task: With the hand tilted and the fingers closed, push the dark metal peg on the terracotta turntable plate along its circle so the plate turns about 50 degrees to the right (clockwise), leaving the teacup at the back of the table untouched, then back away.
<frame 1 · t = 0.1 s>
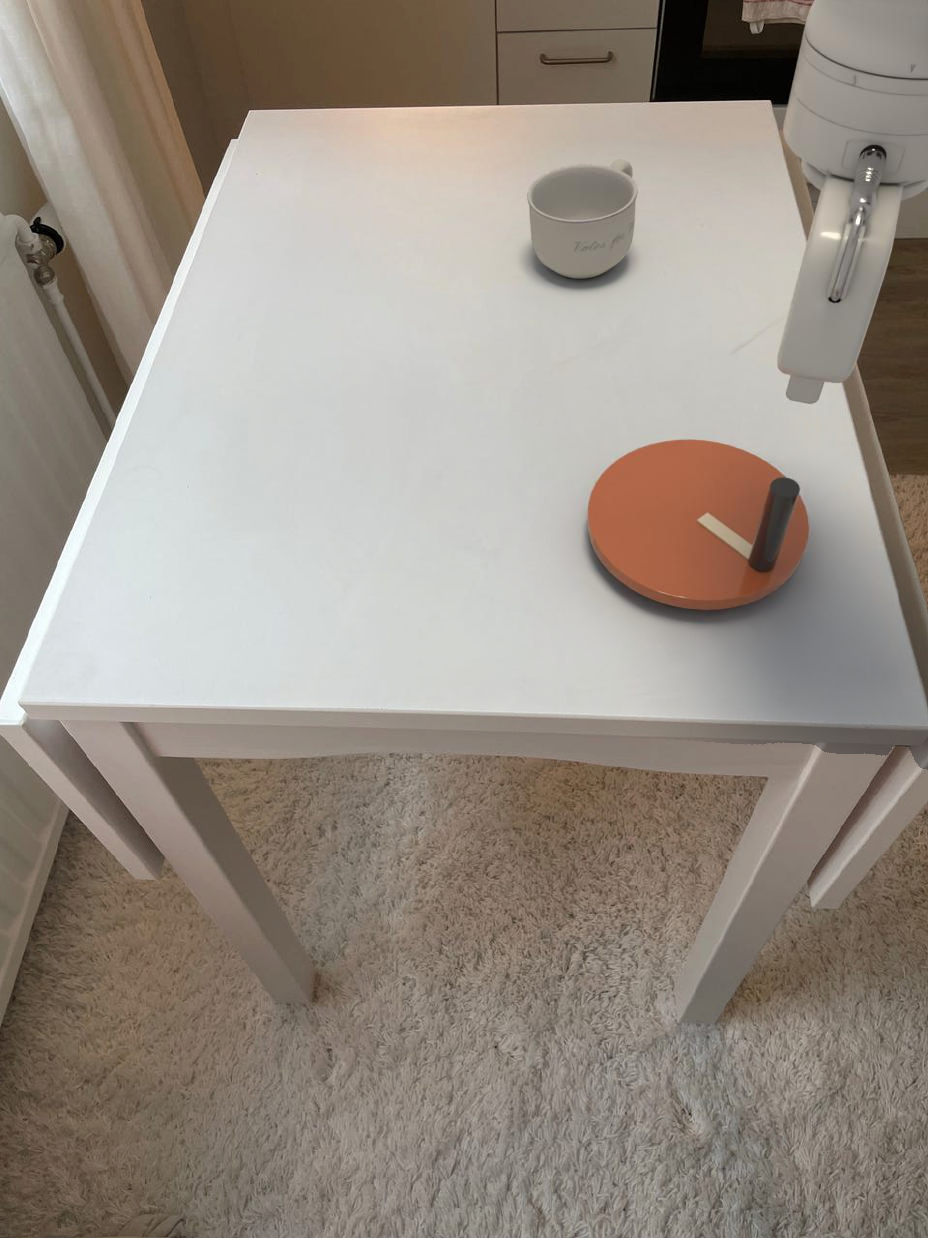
hand: (814, 343, 56), 22 cm above the table, tool pointing down, fingers open, 8 cm apart
plate: (703, 483, 72), point 6 cm above the table, hinge at 0.0°
teacup: (588, 256, 101), on the table
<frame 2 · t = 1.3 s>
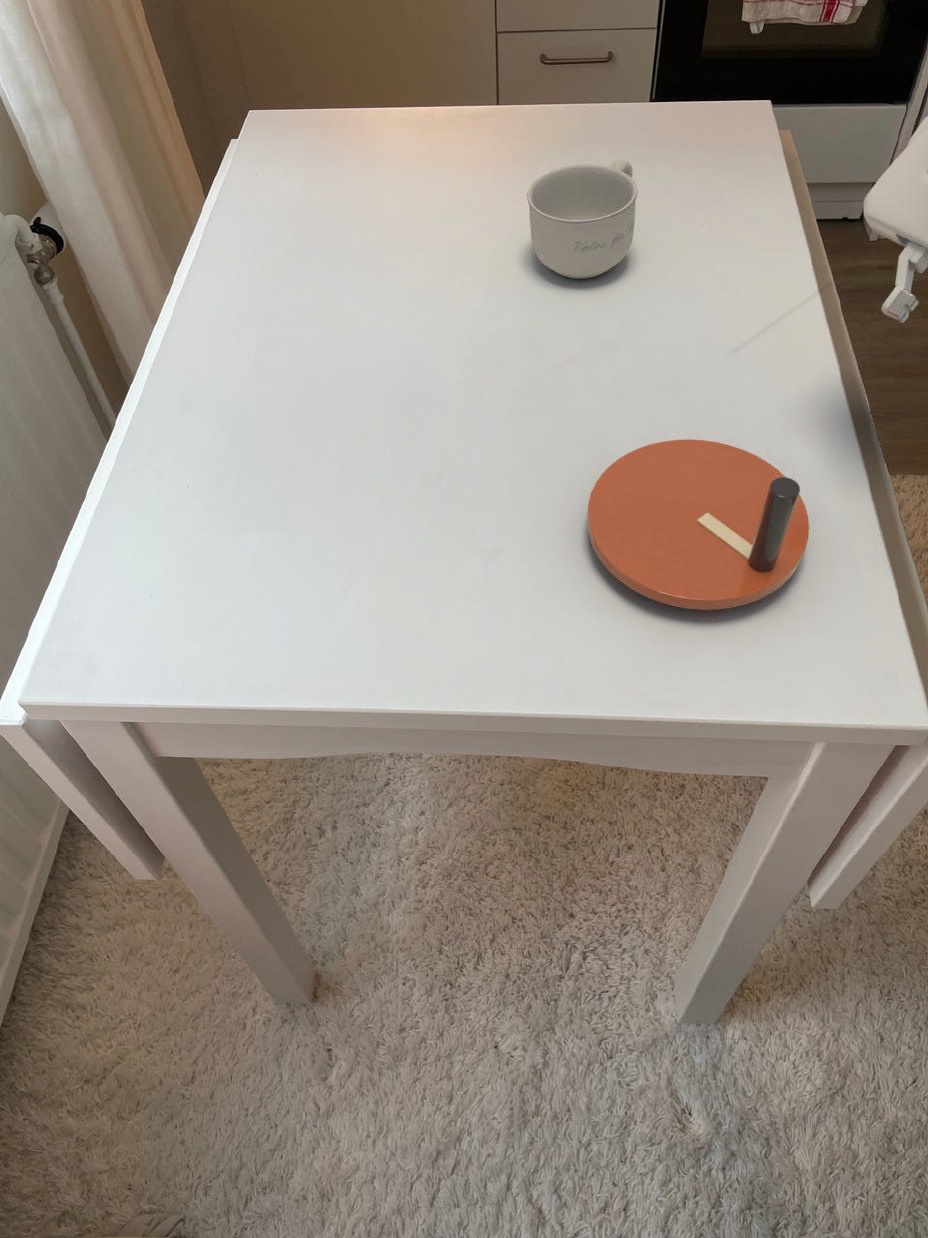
nothing on the table moved.
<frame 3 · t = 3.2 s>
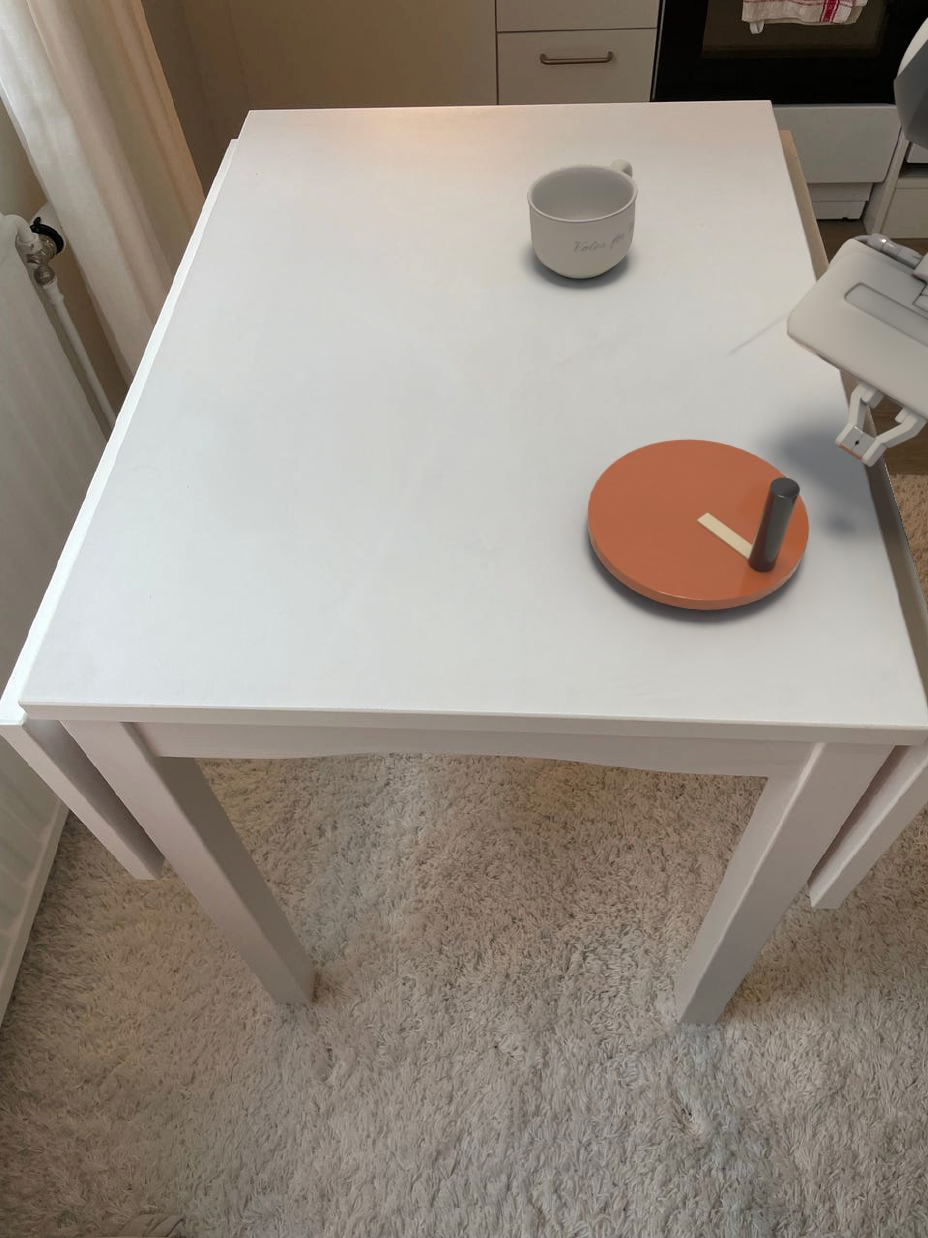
hand: (851, 455, 70), 8 cm above the table, tool tilted 45°, fingers closed
nothing on the table moved.
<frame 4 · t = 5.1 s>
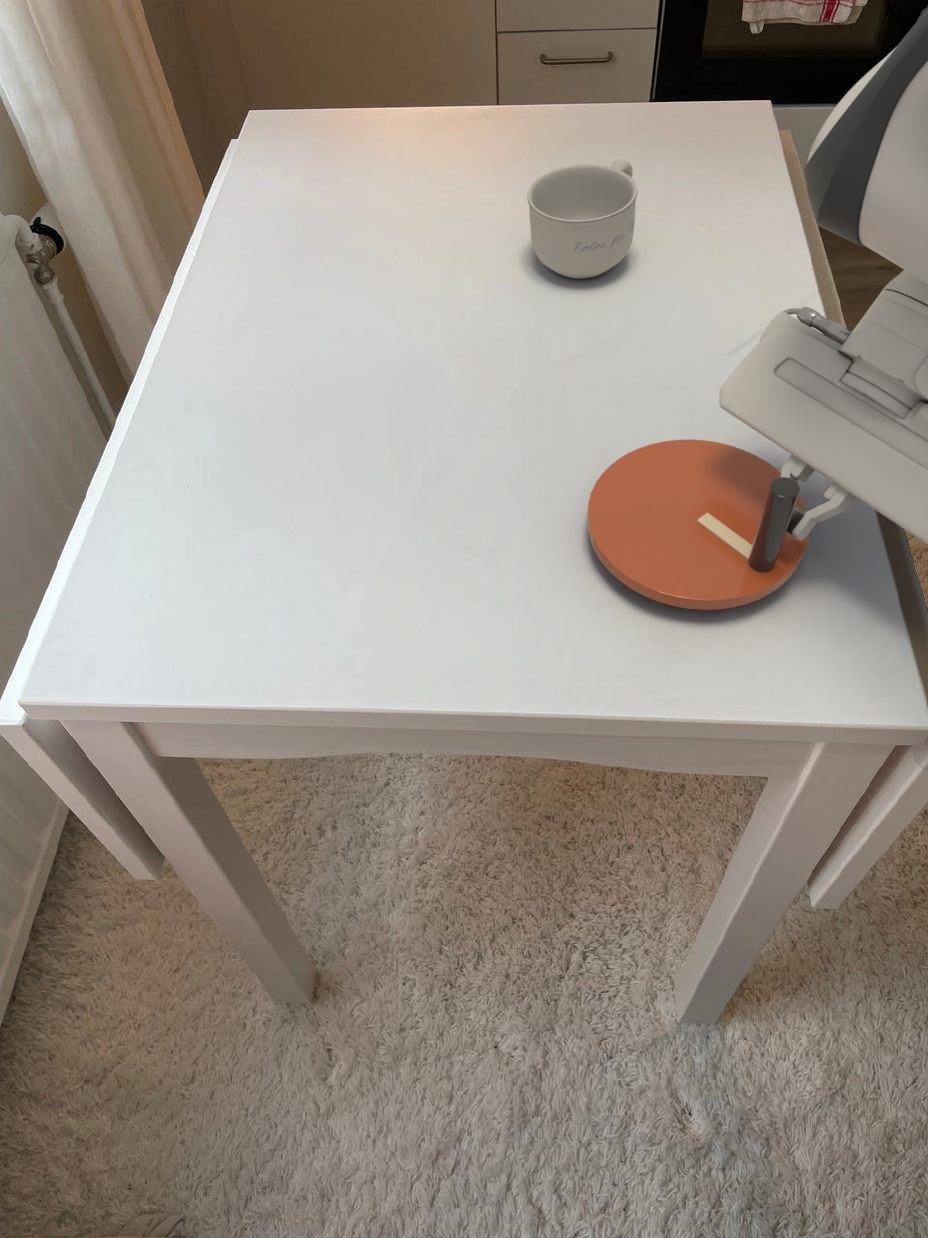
hand: (783, 528, 70), 5 cm above the table, tool tilted 45°, fingers closed, pressing on plate
plate: (703, 483, 72), point 6 cm above the table, hinge at 0.0°, touching gripper
everything else where it was.
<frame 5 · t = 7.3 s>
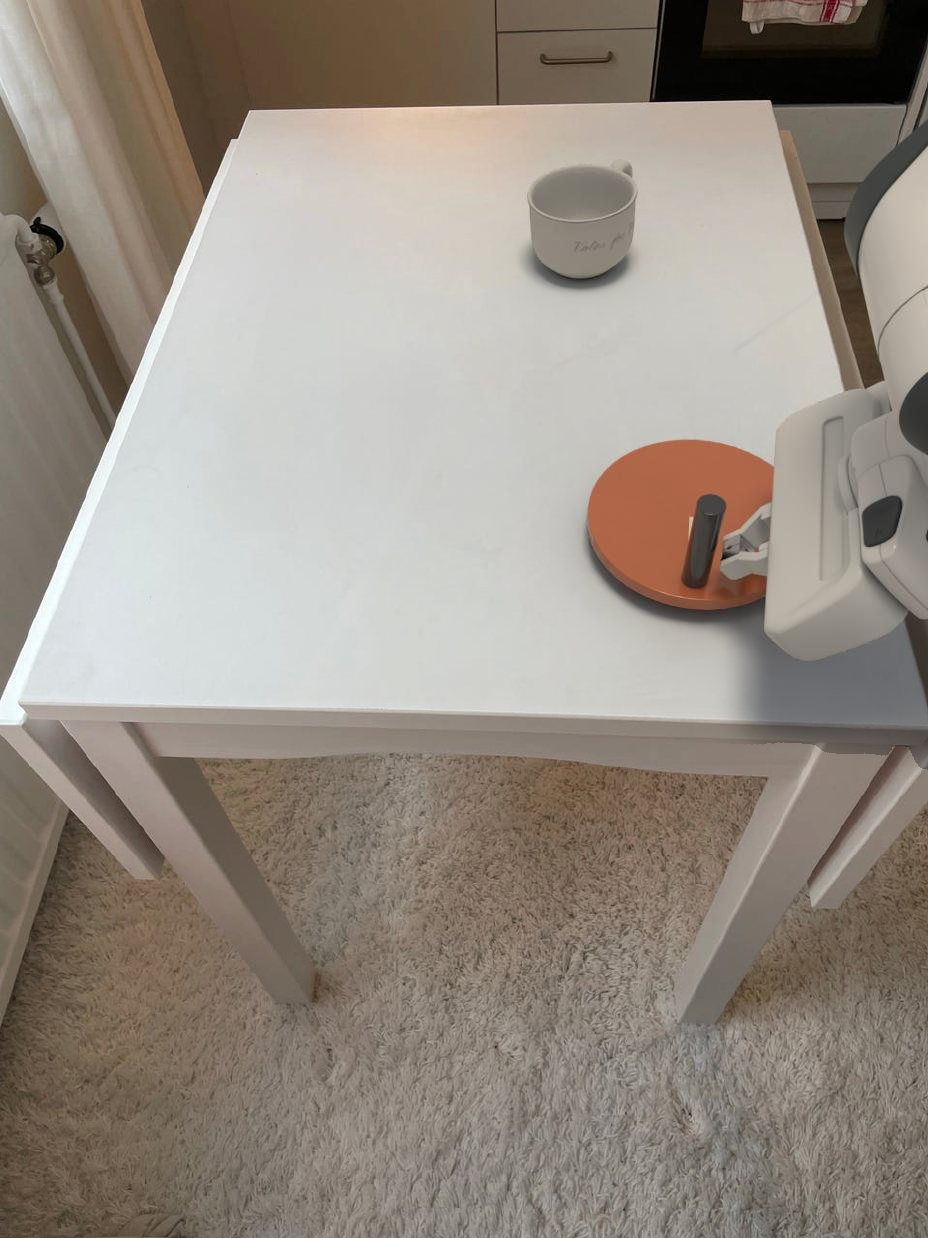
hand: (725, 559, 68), 5 cm above the table, tool tilted 45°, fingers closed
plate: (703, 483, 72), point 6 cm above the table, hinge at -48.6°
everything else where it was.
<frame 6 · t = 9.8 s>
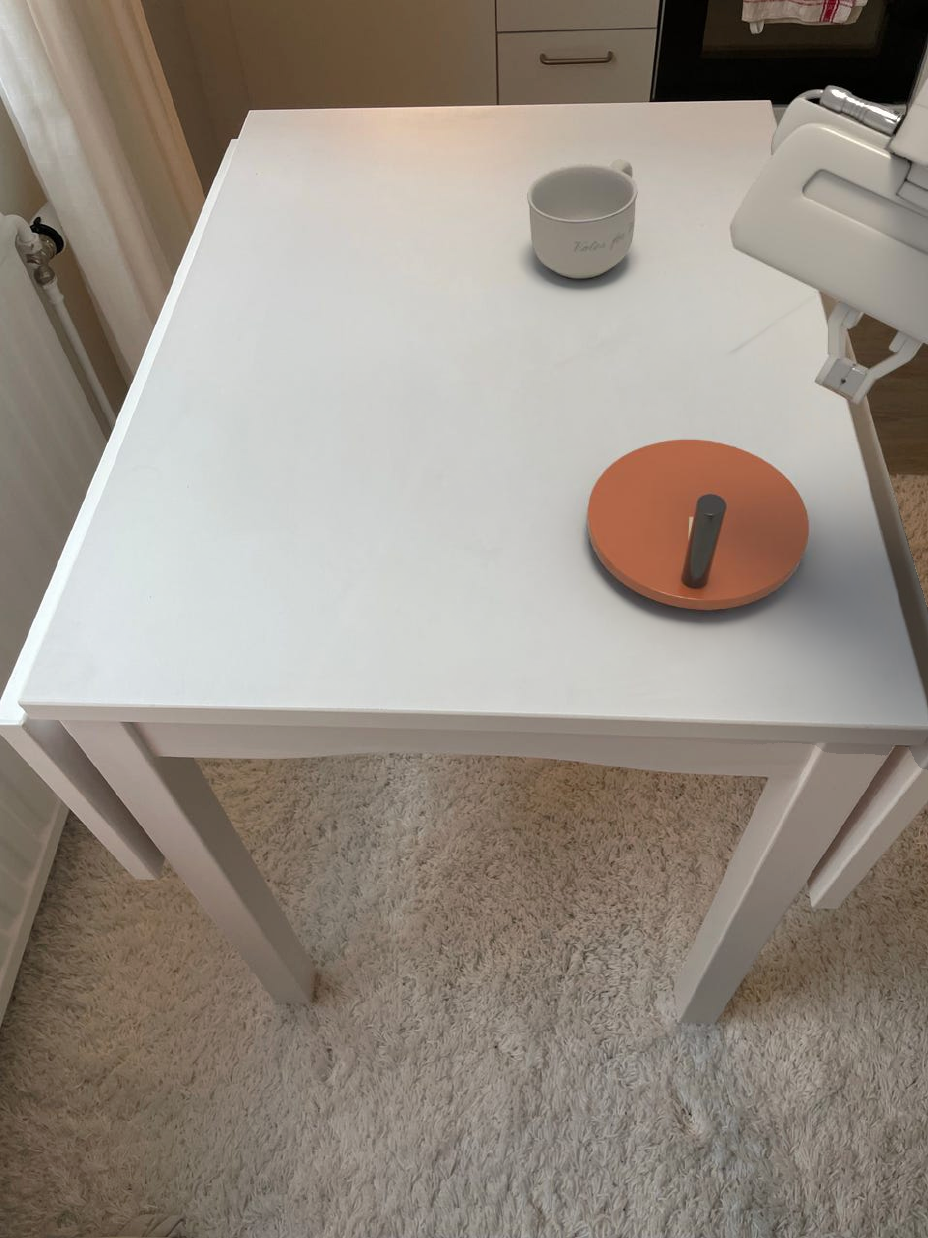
hand: (837, 392, 56), 20 cm above the table, tool tilted 30°, fingers closed
nothing on the table moved.
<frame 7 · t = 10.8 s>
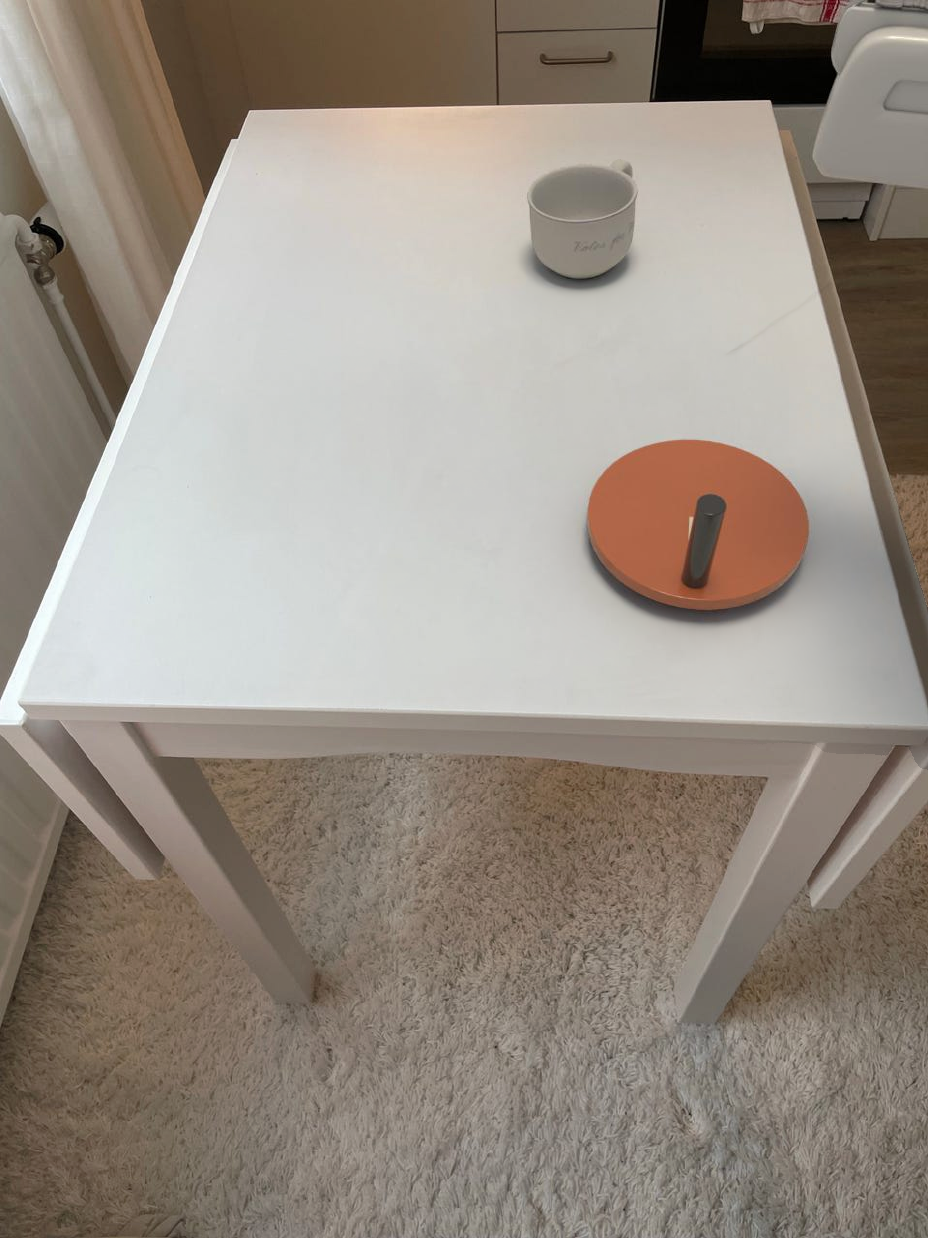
nothing on the table moved.
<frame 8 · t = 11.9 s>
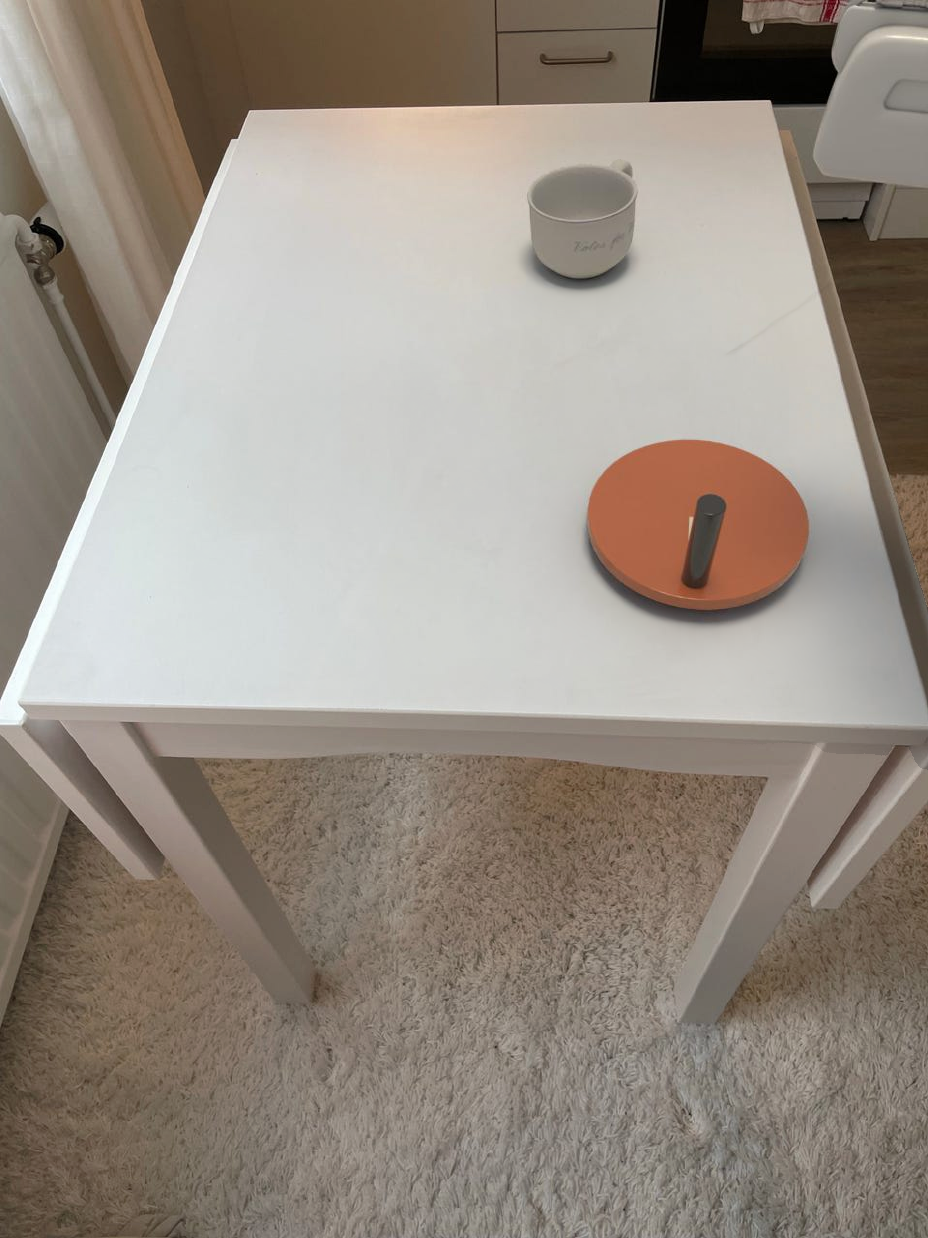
nothing on the table moved.
at the end: plate at -49° (first picture: +0°); teacup moved 0.2 cm from its start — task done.
